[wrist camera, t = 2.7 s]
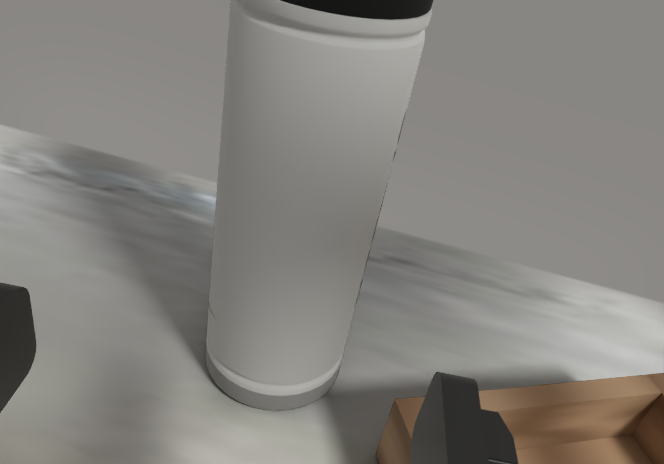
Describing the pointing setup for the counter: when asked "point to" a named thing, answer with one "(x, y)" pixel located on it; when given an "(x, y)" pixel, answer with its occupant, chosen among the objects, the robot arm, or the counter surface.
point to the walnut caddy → (560, 422)
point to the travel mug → (302, 185)
